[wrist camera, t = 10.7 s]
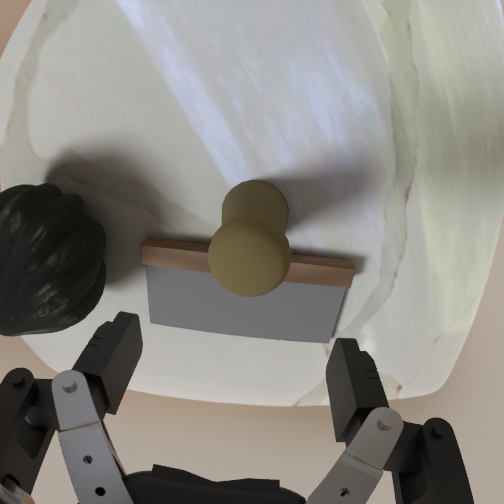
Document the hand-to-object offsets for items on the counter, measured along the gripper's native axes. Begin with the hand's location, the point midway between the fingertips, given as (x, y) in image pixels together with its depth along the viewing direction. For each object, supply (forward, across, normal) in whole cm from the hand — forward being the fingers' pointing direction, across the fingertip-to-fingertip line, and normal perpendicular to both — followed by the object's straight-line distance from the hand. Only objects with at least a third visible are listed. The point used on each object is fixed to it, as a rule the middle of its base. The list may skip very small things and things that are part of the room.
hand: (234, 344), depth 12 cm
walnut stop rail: (+18, 0, +5) cm, 18 cm away
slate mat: (+17, 0, +10) cm, 20 cm away
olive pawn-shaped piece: (+18, 0, 0) cm, 18 cm away
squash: (+18, +20, +5) cm, 27 cm away
